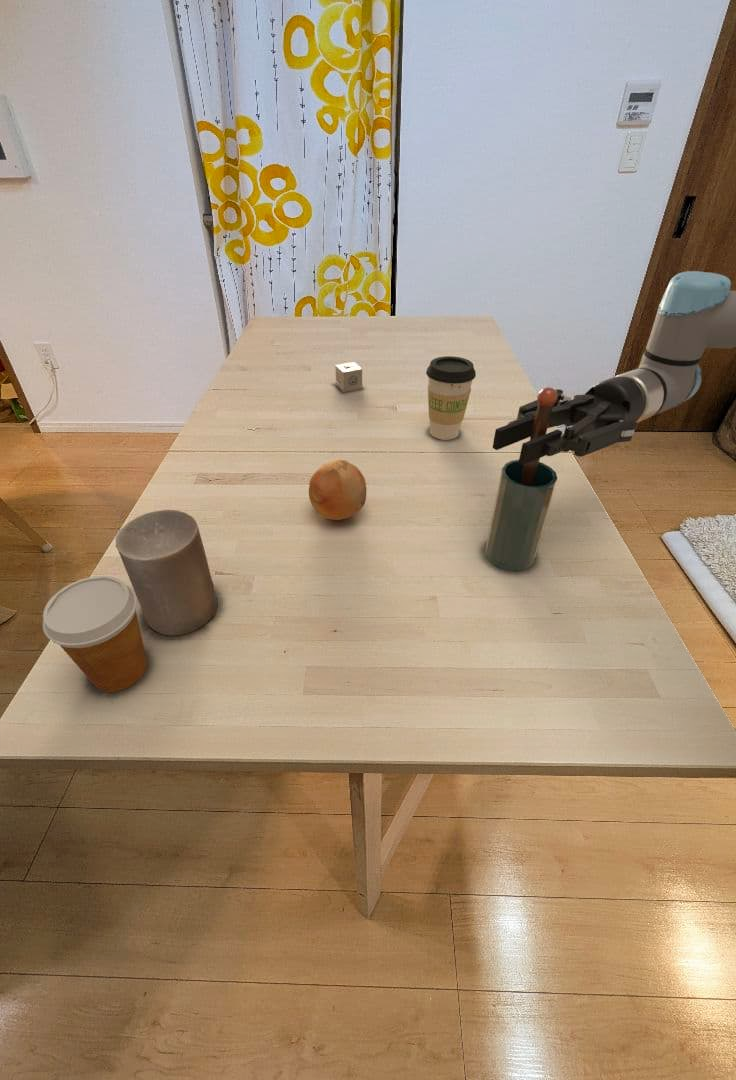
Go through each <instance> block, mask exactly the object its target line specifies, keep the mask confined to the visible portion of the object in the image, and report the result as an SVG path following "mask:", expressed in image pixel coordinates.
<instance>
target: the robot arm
mask: <svg viewBox="0 0 736 1080" xmlns="http://www.w3.org/2000/svg"><path fill="white" fill-rule="evenodd" d="M731 286H732V281H731V280H730V278H729V277H727V276H726V275H724V274H720V273H716V272H710V271H709V272H705V271H699V270H689V271H683V272H680V273H677V274H676V275H674V276H673V277H671V279H670V281H669V282H668V285H667V287H666V288H665V291H664V293H663V296H662V298H661V301H660V303H659V304H658V307H657V312H656V315H655V318H654V321H653V325H652V328H651V331H650V335H649V337H648V341H647V344H646V346H645V349H644V351H643V354H642V356H641V360H640V362H639V364H638V365H639V366H638V367H637V368H635V369H632V370H629V371H625V372H624V373H620V374H617V375H615V376H613V377H610V378H608V379H605V380H602V381H600V382H597V383H595V384H594V385H592V386H591V387H590V388H589V389H588V390H587V391H586V392H585V393H584V394H576V395H575V394H574V395H573V396H572V397H570V396H566V395H565V394H564V390H562V389H554V390H555V391H556V392H557V395H558V398H557V401H556V403H555V404H554V405H553V408H552V412H551V416H550V420H549V424H548V428H547V429H551V428H555V427H559V426H565V427H564V432H563V431H562V430H560V429H555V430H553V431H549V432H546V434H545V435H542V436H540V437H537V438H535V439H533V440H530V437H531V433H532V429H533V424H534V420H535V416H536V411H537V407H538V400H537V399H536V400H533V401H531V402H528V403H526V404H524V405H520V406H519V408H518V412H517V417H516V419H515V420H512V421H509V422H508V423H507V424H505V425H503V426H501V427H498V428H496V429H495V431H494V437H493V442H492V449H493V450H495V451H498V450H501V449H503V448H506V447H508V446H509V447H510V446H511V445H513V444H516V443H519V442H521V441H523V440H526V439H528V438H529V440H528V441H525V442H523V443H522V445H521V450H520V453H519V458H518V460H519V462H518V463H520V464H521V465H525V464H527V463H529V462H532V461H534V460H536V459H539V458H540V459H541V458H543V457H553V456H555V455H557V454H559V453H569V452H570V451H571V452H574V453H573V454H574V455H575V457H578V458H579V457H585V456H587V455H590V454H592V453H595V452H597V451H600V450H603V449H605V448H608V447H610V446H612V445H615V444H617V443H626V442H631V441H632V439H633V437H634V434H635V430H636V428H637V426H638V423H640V422H643V421H645V420H647V419H649V418H651V417H654V416H656V415H658V414H661V413H663V412H667V411H669V410H672V409H675V408H678V407H679V406H680V405H682V404H683V403H685V402H686V401H688V400H690V399H691V398H692V397H694V395H695V394H696V393H697V392H698V391H699V388H700V386H701V384H702V369H701V367H700V364H699V363H700V360H701V359H702V356H703V354H704V352H705V350H706V349H734V350H735V349H736V290H730V289H731Z"/></svg>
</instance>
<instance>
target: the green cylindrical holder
mask: <svg viewBox="0 0 736 1080" xmlns="http://www.w3.org/2000/svg"><path fill="white" fill-rule="evenodd" d="M518 462H519V459H513V460H510V461H508V462H506V463H504V464H503V466H502V467H501V469H500V474H499V479H498V485H497V490H496V494H495V500H494V504H493V509H492V514H491V520H490V525H489V530H488V535H487V539H486V546H485V557H486V558H487V560H488V561H489V562H490V563H491V564H492V565H493V566H495V567H497V568H499V569H501V570H504V571H510V572H520V571H525V570H527V569H529V568H530V567H531V566H532V565H533V564H534V562H535V559H536V556H537V553H538V548H539V545H540V543H541V538H542V533H543V531H544V527H545V524H546V520H547V517H548V514H549V510H550V507H551V502H552V500H553V496H554V493H555V489H556V486H557V482H558V475H557V472H556V471H555V470H554V469H553V468H552V467H551V466H549V465H547V464H546V463H544V462H541V461H539V464H538V468H537V472H536V476H535V480H534V484H533V486H526V485H522V484H520V481H521V477H522V472H523V468H524V465H521V464H520V463H518Z"/></svg>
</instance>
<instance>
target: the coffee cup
mask: <svg viewBox="0 0 736 1080" xmlns="http://www.w3.org/2000/svg"><path fill="white" fill-rule="evenodd" d="M474 366H475V365H474V363H473V362H472V361H471V360H469V359H466V358H464V357H459V356H451V355H449V356H448V355H447V356H438V357H436V358H435V357H434V358H433V359H432V360H431V361H430V362H429V365H428V366H427V368H426V371H425V374H426V376H427V380H428V382H427V383H428V384H427V402H428V403H427V404H428V419H429V435H430V436H432V437H433V438H435V439H438V440H444V441H448V440H449V441H450V440H454V439H456V438H458V436H459V434H460V432H461V431H460V430H461V428H462V427H461V426H462V422H463V421H464V419H465V414H466V411H467V407H468V402H469V399H470V396H471V392H472V384H473V380H474V379H475V378H476V376H477V375H476V370H475V367H474Z"/></svg>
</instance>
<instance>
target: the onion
mask: <svg viewBox="0 0 736 1080" xmlns="http://www.w3.org/2000/svg"><path fill="white" fill-rule="evenodd" d="M308 498H309V499H308V500H309V502H310V504H311V506H312V508H313V509H314V510H315V511H316V513H317V514H319V515H320V516H321V517H323V518H325V519H328V520H332V521H334V520H335V521H339V520H345V519H347V518H351V517H353V516H354V515H356V514H357V513H359V512H360V511H361V510H362V508H363V507H364V505H365V504H366V500H367V482H366V477H364V474H363V473H362V471H361V470H360V469H359V468H358V467H357V466H356V465H355V464H353V463H351V462H350V461H347V460H344V459H334V460H331V461H328V462H325V463H324V464H322V465H321V466H319V468H317V470H315V472H314V473H313V474H312V476H311V477H310V479H309V485H308Z"/></svg>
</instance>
